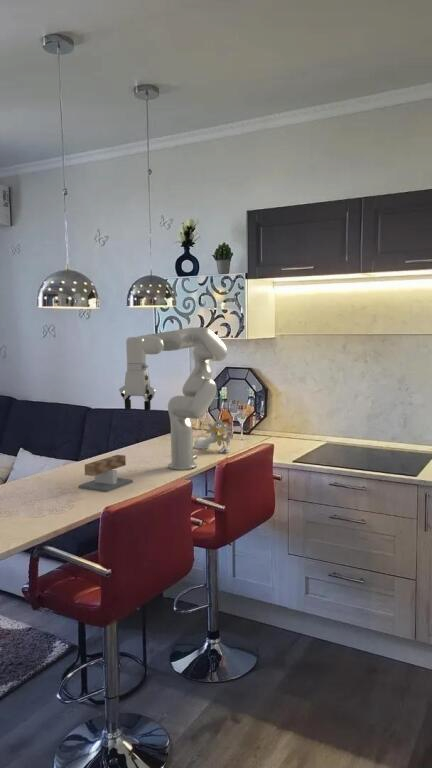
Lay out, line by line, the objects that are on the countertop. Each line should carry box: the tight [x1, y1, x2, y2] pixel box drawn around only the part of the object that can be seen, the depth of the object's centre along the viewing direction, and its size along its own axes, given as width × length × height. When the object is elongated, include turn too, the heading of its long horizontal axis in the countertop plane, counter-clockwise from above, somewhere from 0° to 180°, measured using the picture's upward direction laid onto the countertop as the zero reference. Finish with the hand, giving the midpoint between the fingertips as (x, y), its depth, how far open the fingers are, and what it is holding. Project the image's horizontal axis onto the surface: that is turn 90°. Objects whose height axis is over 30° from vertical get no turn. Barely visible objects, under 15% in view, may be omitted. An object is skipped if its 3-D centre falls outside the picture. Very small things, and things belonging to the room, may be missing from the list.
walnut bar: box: [84, 454, 127, 477], centre depth 232 cm, size 20×4×4 cm, turn 151°
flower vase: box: [193, 417, 234, 453], centre depth 298 cm, size 13×18×25 cm
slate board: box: [78, 469, 134, 493], centre depth 232 cm, size 16×14×6 cm
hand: (137, 409), depth 239 cm, fingers open, 9 cm apart
